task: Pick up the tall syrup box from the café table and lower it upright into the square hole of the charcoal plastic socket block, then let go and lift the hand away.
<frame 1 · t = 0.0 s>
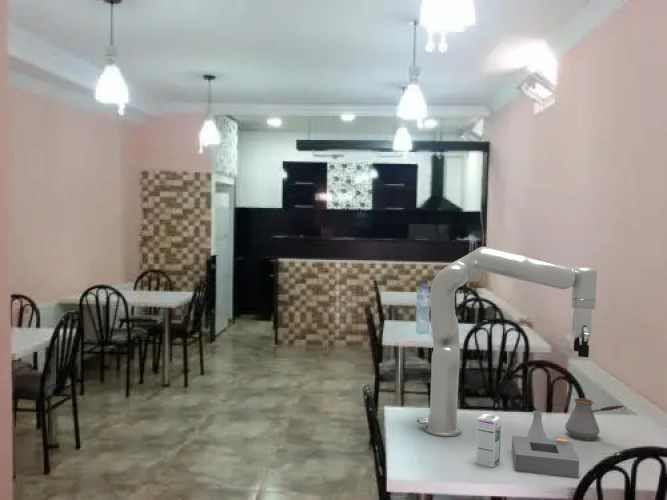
hand: (580, 354, 218), 31 cm above the table, tool pointing down, fingers open, 9 cm apart
coffee pot: (593, 441, 225), on the table
flask: (536, 441, 222), on the table
syrup box: (487, 463, 199), on the table
socket block: (543, 463, 201), on the table
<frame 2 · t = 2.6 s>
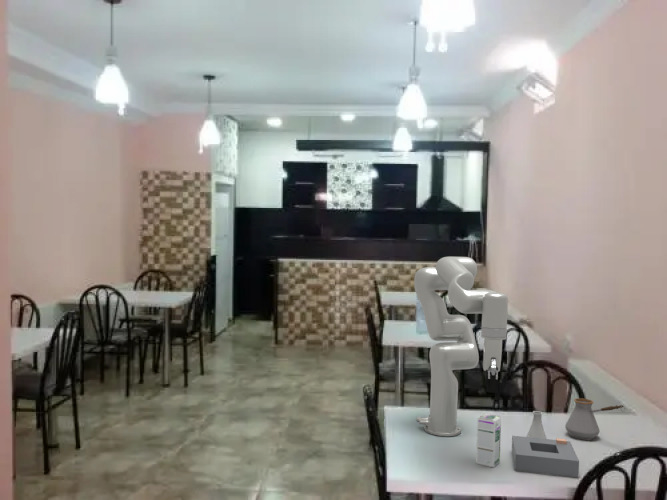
hand: (491, 388, 198), 23 cm above the table, tool pointing down, fingers open, 9 cm apart
nothing on the table moved.
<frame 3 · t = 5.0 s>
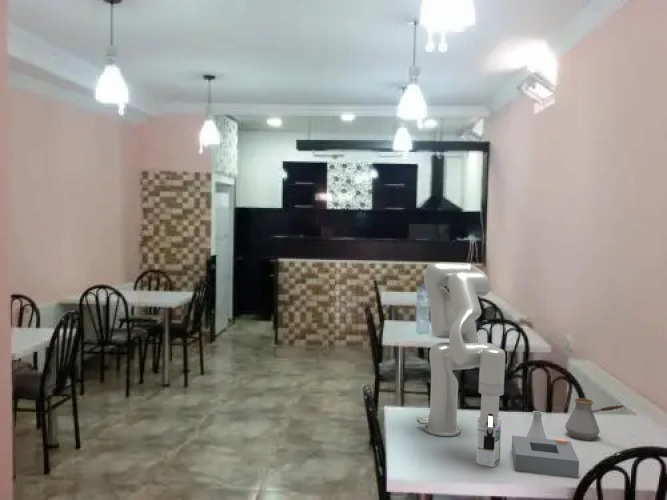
hand: (488, 444, 199), 6 cm above the table, tool pointing down, fingers closed on syrup box, 7 cm apart
syrup box: (487, 463, 199), on the table, touching gripper
everything else where it was.
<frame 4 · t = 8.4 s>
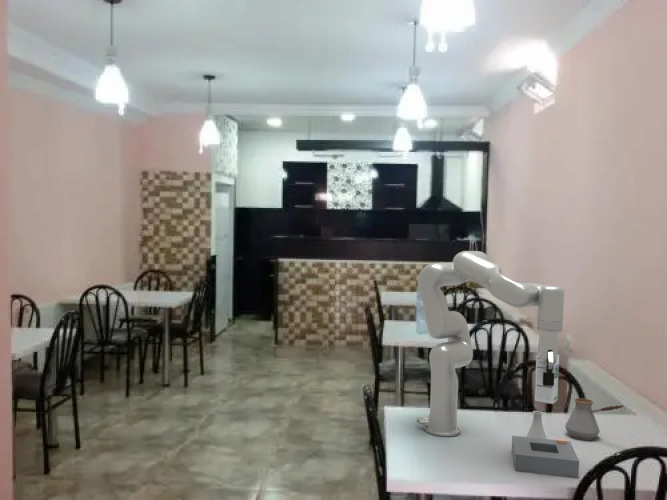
hand: (546, 382, 200), 26 cm above the table, tool pointing down, fingers closed on syrup box, 7 cm apart
syrup box: (545, 401, 200), point 20 cm above the table, touching gripper
everything else where it was.
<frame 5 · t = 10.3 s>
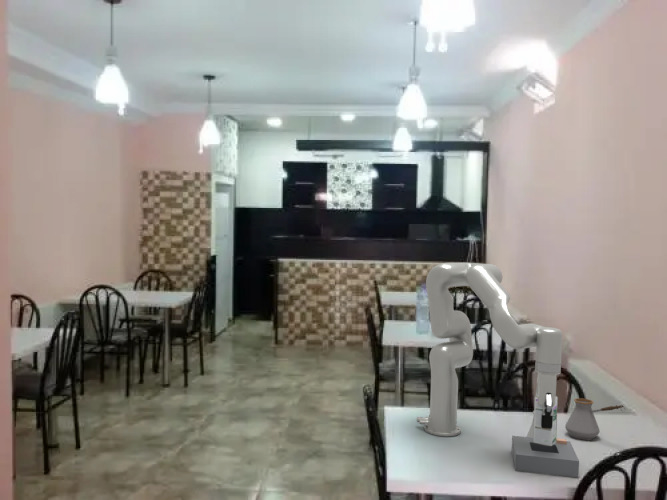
hand: (545, 423, 200), 13 cm above the table, tool pointing down, fingers closed on syrup box, 7 cm apart
syrup box: (544, 442, 200), point 7 cm above the table, touching gripper
everything else where it was.
when the fingers open (7 cm above the table, at t = 12.0 s): syrup box drops 1 cm, resting in socket block.
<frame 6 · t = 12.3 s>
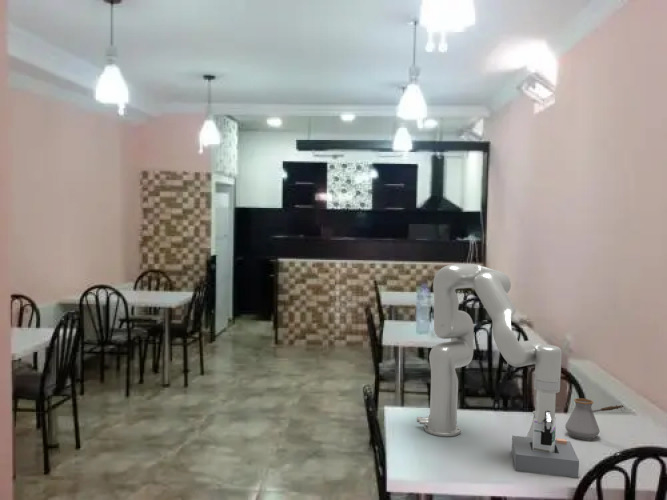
hand: (544, 439, 200), 7 cm above the table, tool pointing down, fingers open, 9 cm apart
syrup box: (542, 464, 201), resting in socket block
everything else where it was.
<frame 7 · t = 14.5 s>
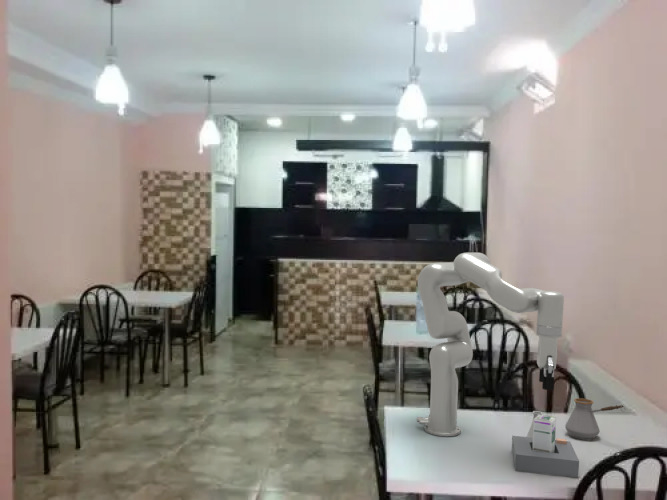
hand: (546, 385, 200), 24 cm above the table, tool pointing down, fingers open, 9 cm apart
nothing on the table moved.
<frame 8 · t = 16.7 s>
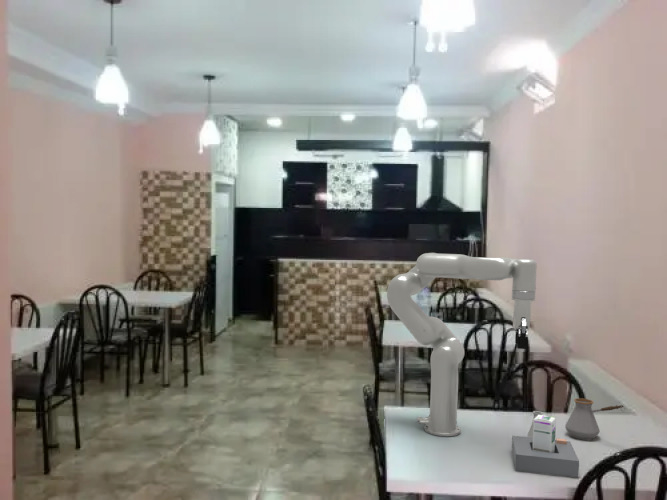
hand: (521, 346, 217), 33 cm above the table, tool pointing down, fingers open, 9 cm apart
nothing on the table moved.
at the end: syrup box 0.1 cm off-centre on the socket block, point 0.0 cm above the socket block's base; syrup box tilted 0°; the gripper is holding nothing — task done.
